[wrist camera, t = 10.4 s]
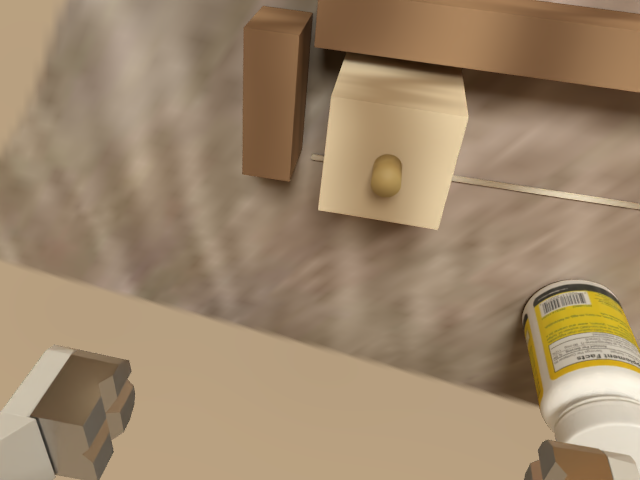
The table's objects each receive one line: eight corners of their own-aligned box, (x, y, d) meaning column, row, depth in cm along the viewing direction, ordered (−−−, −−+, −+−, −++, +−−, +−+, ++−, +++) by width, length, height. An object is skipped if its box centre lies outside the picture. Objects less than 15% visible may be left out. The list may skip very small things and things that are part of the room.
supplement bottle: (583, 355, 31) (626, 503, 24) (504, 326, 31) (526, 468, 24) (641, 295, 28) (709, 444, 21) (554, 263, 28) (596, 403, 21)
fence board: (797, 34, 20) (846, 62, 18) (691, 216, 25) (719, 257, 23) (264, -36, 22) (244, -18, 19) (258, 150, 26) (242, 183, 24)
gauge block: (460, 60, 23) (471, 133, 17) (435, 159, 25) (438, 249, 20) (349, 44, 23) (326, 110, 18) (336, 144, 26) (313, 227, 20)
